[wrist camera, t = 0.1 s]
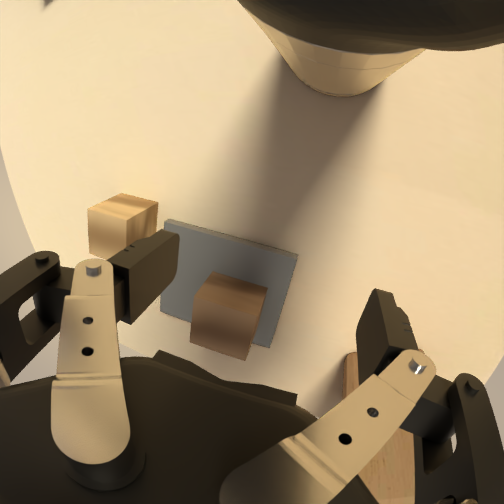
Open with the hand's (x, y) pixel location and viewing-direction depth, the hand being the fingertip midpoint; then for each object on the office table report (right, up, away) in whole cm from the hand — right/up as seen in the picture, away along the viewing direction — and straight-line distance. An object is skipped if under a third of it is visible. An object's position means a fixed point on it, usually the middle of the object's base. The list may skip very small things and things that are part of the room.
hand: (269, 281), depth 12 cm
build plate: (-4, -3, +22) cm, 22 cm away
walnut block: (-2, -4, +21) cm, 21 cm away
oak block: (-14, +5, +21) cm, 25 cm away
